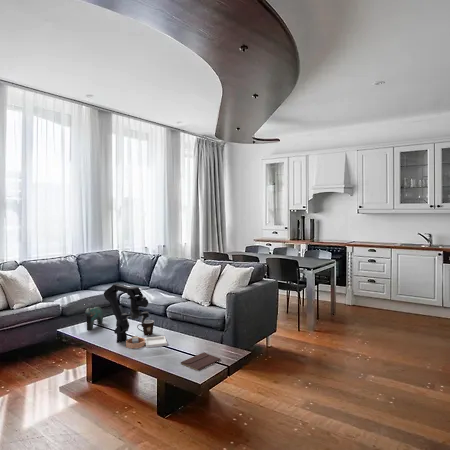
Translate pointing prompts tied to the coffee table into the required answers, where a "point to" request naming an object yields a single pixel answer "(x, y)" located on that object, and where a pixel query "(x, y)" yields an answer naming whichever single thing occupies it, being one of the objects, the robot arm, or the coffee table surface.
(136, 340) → the grey block
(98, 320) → the green animal figure
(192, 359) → the notebook
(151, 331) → the coffee mug
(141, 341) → the terracotta bowl
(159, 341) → the tray
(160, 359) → the coffee table surface
